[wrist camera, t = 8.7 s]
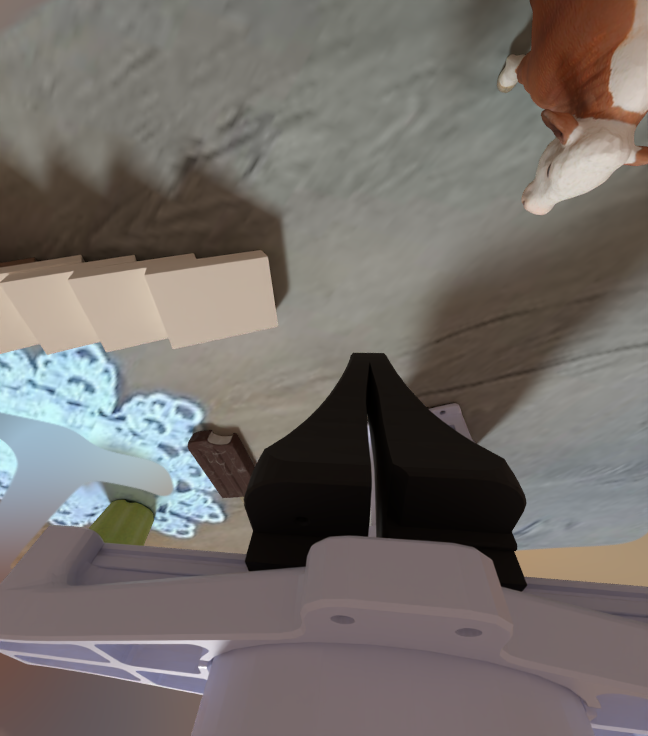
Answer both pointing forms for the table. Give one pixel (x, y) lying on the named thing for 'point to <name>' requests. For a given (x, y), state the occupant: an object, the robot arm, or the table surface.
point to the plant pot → (124, 523)
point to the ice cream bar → (223, 462)
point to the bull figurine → (583, 92)
